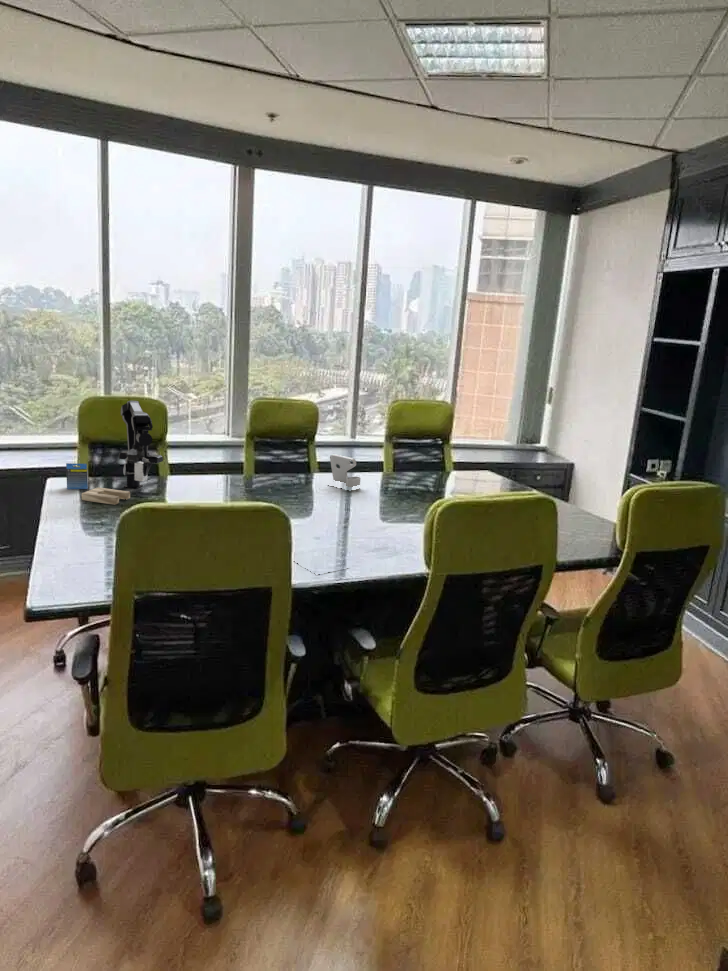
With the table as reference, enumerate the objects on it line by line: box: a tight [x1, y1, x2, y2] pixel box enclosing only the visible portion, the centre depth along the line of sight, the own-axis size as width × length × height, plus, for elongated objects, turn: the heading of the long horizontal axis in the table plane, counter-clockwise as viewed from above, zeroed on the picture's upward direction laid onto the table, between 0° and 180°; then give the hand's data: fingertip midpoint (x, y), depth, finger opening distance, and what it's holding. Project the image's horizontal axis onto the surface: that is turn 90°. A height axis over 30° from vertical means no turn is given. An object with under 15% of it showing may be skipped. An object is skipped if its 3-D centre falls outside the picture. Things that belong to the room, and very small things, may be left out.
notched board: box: [81, 487, 131, 505], centre depth 267 cm, size 12×16×3 cm
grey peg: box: [135, 461, 148, 482], centre depth 272 cm, size 4×4×8 cm
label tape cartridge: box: [65, 462, 89, 490], centre depth 278 cm, size 9×4×12 cm, turn 108°
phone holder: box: [329, 453, 361, 487], centre depth 325 cm, size 17×10×18 cm, turn 56°
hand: (141, 475), depth 273 cm, fingers closed on grey peg, 4 cm apart
